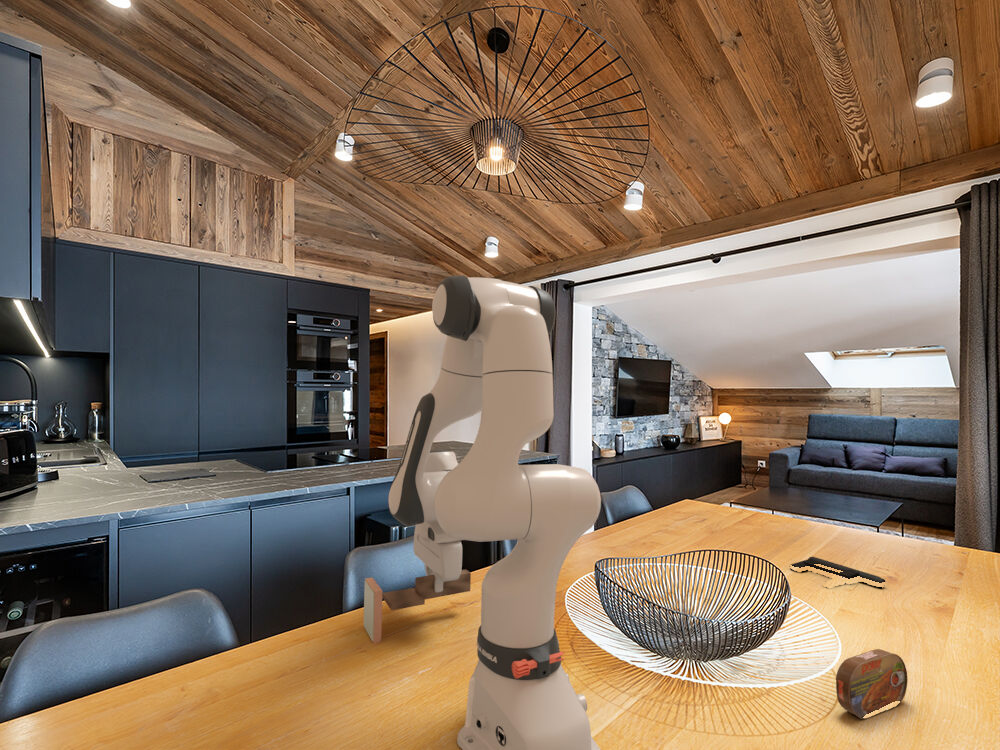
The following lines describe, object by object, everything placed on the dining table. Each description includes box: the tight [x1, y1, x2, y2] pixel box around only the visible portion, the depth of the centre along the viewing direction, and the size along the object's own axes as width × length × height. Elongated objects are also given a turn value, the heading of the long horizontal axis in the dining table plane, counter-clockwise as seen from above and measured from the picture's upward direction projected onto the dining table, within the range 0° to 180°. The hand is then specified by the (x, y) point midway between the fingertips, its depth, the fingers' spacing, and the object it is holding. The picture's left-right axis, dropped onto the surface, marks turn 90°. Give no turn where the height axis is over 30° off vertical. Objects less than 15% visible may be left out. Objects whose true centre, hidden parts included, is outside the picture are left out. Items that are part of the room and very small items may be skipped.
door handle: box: [790, 556, 887, 583], centre depth 140 cm, size 3×20×16 cm
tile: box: [363, 577, 383, 644], centre depth 104 cm, size 8×2×10 cm, turn 28°
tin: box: [835, 648, 908, 720], centre depth 82 cm, size 15×3×8 cm, turn 114°
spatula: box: [382, 569, 472, 611], centre depth 110 cm, size 18×7×4 cm, turn 118°
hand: (434, 587), depth 110 cm, fingers closed on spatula, 2 cm apart
